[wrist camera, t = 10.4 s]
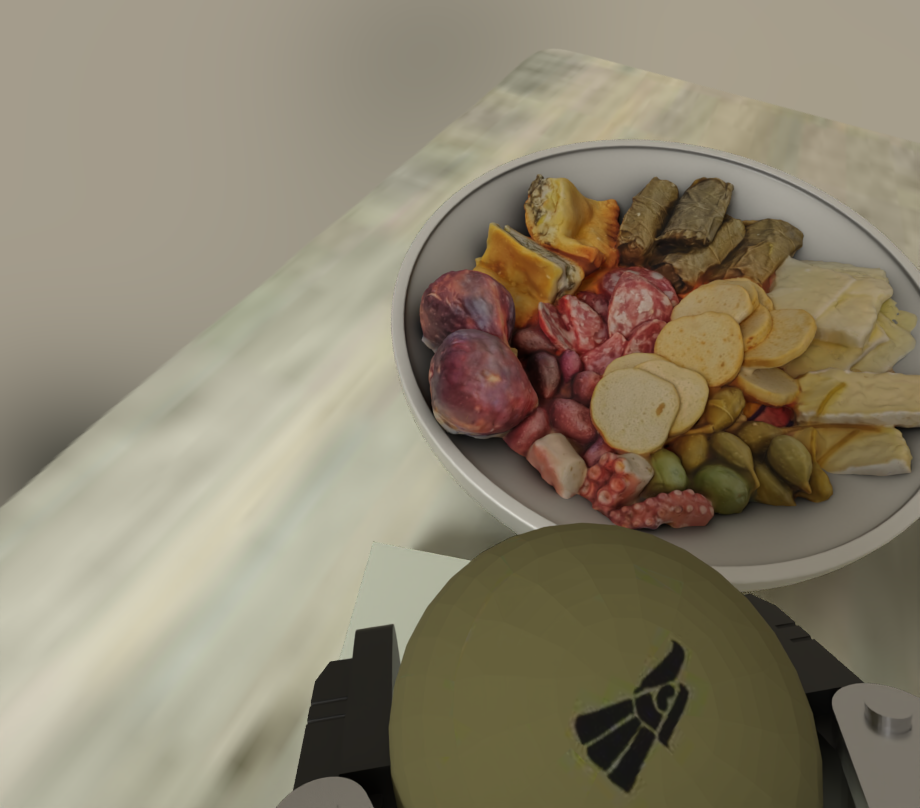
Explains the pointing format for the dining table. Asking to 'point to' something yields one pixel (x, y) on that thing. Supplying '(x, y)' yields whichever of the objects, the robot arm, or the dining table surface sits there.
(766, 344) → the bowl
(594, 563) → the light bulb
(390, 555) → the block
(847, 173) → the dining table surface
